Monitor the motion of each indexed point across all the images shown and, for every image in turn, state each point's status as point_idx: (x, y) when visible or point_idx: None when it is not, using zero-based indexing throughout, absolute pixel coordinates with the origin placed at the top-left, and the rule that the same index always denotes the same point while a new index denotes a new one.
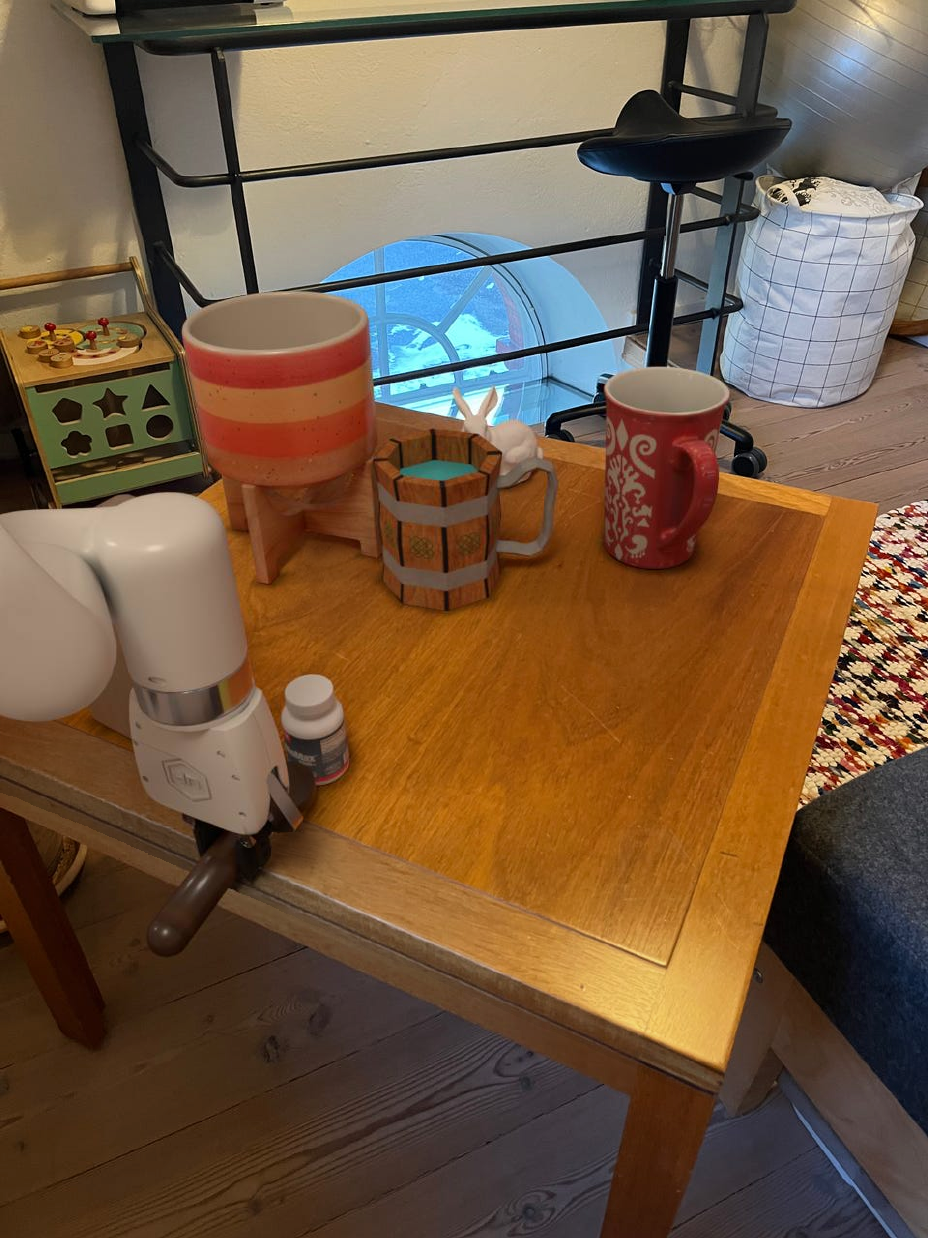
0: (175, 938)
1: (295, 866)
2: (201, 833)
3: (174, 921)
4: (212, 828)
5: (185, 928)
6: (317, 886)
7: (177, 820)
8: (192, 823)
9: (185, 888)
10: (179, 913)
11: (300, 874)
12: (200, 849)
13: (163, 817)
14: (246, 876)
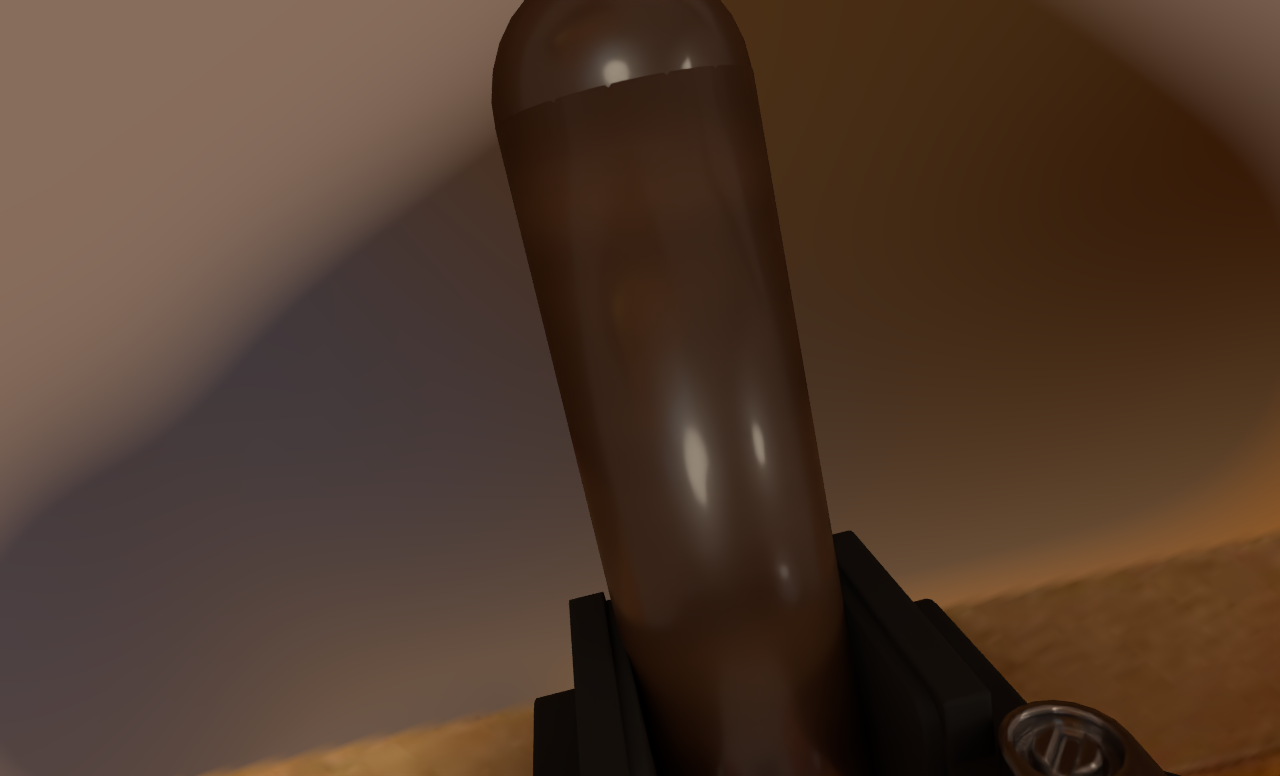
0: (516, 76)
1: (511, 751)
2: (923, 703)
3: (589, 141)
4: (901, 751)
5: (523, 169)
6: (348, 747)
7: (1127, 593)
8: (1030, 728)
9: (722, 358)
10: (606, 203)
11: (460, 740)
12: (880, 592)
13: (1191, 566)
14: (572, 618)
